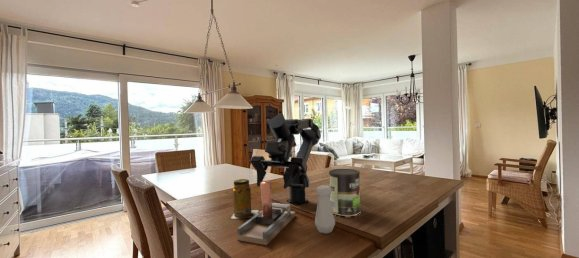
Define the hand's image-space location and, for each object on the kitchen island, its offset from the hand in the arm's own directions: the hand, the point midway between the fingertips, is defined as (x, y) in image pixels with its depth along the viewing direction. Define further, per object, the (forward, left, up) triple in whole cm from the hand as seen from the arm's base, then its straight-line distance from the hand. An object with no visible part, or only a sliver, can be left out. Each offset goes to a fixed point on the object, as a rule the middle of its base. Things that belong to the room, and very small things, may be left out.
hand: (271, 187), depth 79 cm
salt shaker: (+13, +10, -12) cm, 21 cm away
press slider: (+1, -2, -10) cm, 10 cm away
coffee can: (+6, +25, -12) cm, 29 cm away
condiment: (-13, -4, -12) cm, 18 cm away
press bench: (+1, -1, -12) cm, 12 cm away
